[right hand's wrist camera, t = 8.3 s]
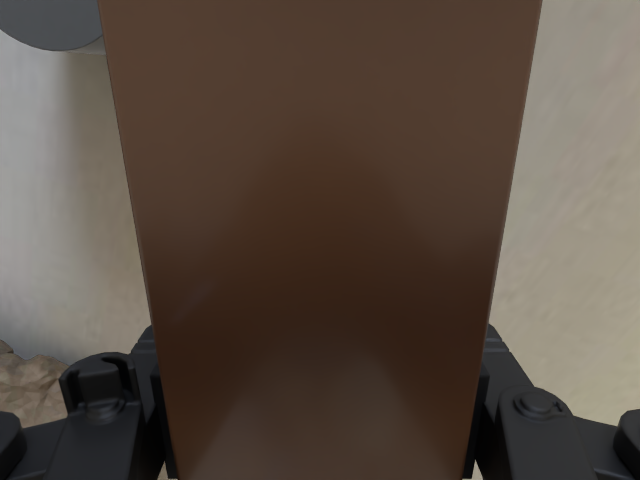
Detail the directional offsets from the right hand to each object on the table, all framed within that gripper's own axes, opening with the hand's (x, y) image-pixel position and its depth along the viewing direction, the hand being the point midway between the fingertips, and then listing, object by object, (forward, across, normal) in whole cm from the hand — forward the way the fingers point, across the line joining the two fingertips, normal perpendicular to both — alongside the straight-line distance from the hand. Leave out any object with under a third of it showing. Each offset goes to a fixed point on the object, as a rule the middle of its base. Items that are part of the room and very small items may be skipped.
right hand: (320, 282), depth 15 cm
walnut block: (0, 0, -10) cm, 10 cm away
